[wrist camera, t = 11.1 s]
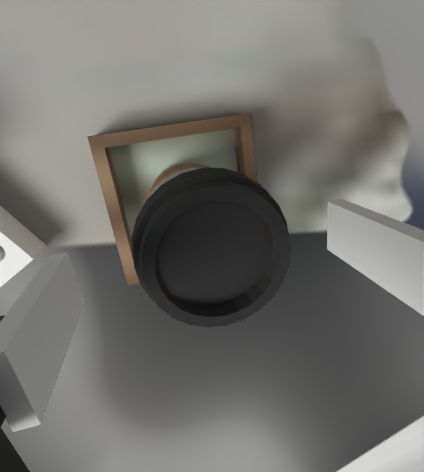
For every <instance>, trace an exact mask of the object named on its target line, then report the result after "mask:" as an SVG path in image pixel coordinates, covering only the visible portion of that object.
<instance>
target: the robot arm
mask: <svg viewBox="0 0 424 472" xmlns="http://www.w3.org/2000/svg"><path fill="white" fill-rule="evenodd" d="M327 234H328V235H327V249H328V250H329V251H331V252H332V253H334V254H335V255H337V256H338V257H339V258H341V259H342V260H344V261H345V262H347V263H348V264H349V265H351V266H352V267H354V268H355V269H357V270H358V271H360V272H361V273H362V274H364V275H365V276H367V277H368V278H370V279H371V280H373V281H374V282H376V283H377V284H378V285H380V286H381V287H383V288H384V289H386V290H387V291H388V292H390V293H392V294H393V295H394V296H396V297H397V298H399V299H400V300H401V301H403V302H404V303H406V304H407V305H409V306H410V307H412V308H413V309H415V310H416V311H418V312H419V313H421V314H422V315H423V316H424V230H421V229H419V228H416V227H413V226H411V225H408V224H406V223H403V222H400V221H398V220H395V219H392V218H390V217H387V216H385V215H382V214H379V213H377V212H374V211H372V210H369V209H366V208H364V207H361V206H358V205H356V204H353V203H351V202H348V201H345V200H343V199H338V200H333V201H328V225H327ZM83 305H84V299H83V296H82V294H81V291H80V288H79V285H78V282H77V279H76V276H75V273H74V270H73V268H72V265H71V262H70V259H69V256H68V253H67V252H66V253H61V254H55V255H50V256H49V258H48V259H47V260H46V262H45V263H44V264H43V266H42V267H41V268H40V270H39V271H38V272H37V274H36V275H35V276H34V278H33V279H32V280H31V282H30V283H29V284H28V286H27V287H26V288H25V290H24V291H23V292H22V294H21V295H20V296H19V298H18V299H17V300H16V302H15V303H14V304H13V306H12V307H11V309H10V310H9V311H8V312H7V314H6V315H4V316H0V472H30V471H29V470H28V468H27V467H26V465H25V464H24V462H23V461H22V459H21V458H20V456H19V455H18V453H17V452H16V450H15V449H14V447H13V445H12V444H11V442H10V441H9V439H8V438H7V436H6V435H5V433H4V432H3V430H2V429H1V425H2V423H3V421H4V419H5V418H6V420H7V422H8V424H9V425H10V427H11V429H12V431H13V432H14V431H18V430H22V429H26V428H30V427H33V426H37V425H40V424H41V422H42V420H43V417H44V414H45V411H46V408H47V405H48V402H49V400H50V397H51V394H52V391H53V388H54V386H55V383H56V380H57V378H58V375H59V372H60V369H61V366H62V364H63V361H64V358H65V355H66V352H67V350H68V347H69V344H70V341H71V338H72V335H73V333H74V330H75V327H76V324H77V322H78V319H79V316H80V313H81V310H82V307H83Z"/></svg>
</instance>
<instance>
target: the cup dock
mask: <svg viewBox="0 0 424 472" xmlns="http://www.w3.org/2000/svg"><path fill="white" fill-rule="evenodd" d="M88 140H89V144H90V147H91V151H92V155H93V159H94V162H95V166H96V170H97V173H98V177H99V181H100V184H101V188H102V192H103V196H104V199H105V203H106V207H107V210H108V214H109V218H110V221H111V225H112V229H113V232H114V236H115V240H116V244H117V247H118V251H119V255H120V258H121V262H122V266H123V269H124V273H125V277H126V280H127V284H128V285H132V284H137V283H140V281H139V279H138V276H137V273H136V271H135V268H134V260H133V255H132V239H131V238H132V234H133V230H134V225H135V221H136V218H137V216H138V214H139V212H140V211H141V209H142V207H143V205H144V203H145V201H146V198H147V196H148V193H149V191H150V189H151V187H152V185H153V183H154V182H155V180H156V178H157V177H158V176H159V175H160V174H161V173H162V172H163V171H164V170H165V169H167V168H169V167H170V166H172V165H176V164H180V163H191V164H200V165H204V166H208V167H211V168H225V169H229V170H232V171H235V172H239V173H242V174H244V175H246V176H247V177H249V178H251V179H252V180H254V181H255V182H257V175H256V163H255V151H254V140H253V128H252V116H251V113H246V114H239V115H233V116H226V117H219V118H212V119H205V120H198V121H191V122H185V123H178V124H171V125H164V126H157V127H150V128H143V129H136V130H130V131H123V132H116V133H109V134H102V135H95V136H88Z"/></svg>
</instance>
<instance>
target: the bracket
mask: <svg viewBox="0 0 424 472" xmlns="http://www.w3.org/2000/svg"><path fill="white" fill-rule="evenodd" d="M45 246H46V245H45V244H44V243H43V242H42V241H41V240H40V239H38V238H37V237H36V236H35V235H34V234H33V233H31V232H30V231H29V230H28V229H27V228H26V227H24V226H23V225H22V224H21V223H20V222H19V221H18V220H16V219H15V218H14V217H13V216H12V215H11V214H9V213H8V212H7V211H6V210H5V209H4V208H3V207H1V206H0V287H1V286H2V285H3V284H5V283H6V282H7V281H8V280H9V279H11V278H12V277H13V276H14V275H15V274H17V273H18V272H19V271H20V270H21V269H23V268H24V267H25V266H26V265H27V264H29V263H30V262H31V261H32V260H33V259H34V258H35V257H36V256H37V255H38V254H39V253H40V252H41V250H42V249H43V248H44V247H45Z"/></svg>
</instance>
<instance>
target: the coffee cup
mask: <svg viewBox="0 0 424 472" xmlns="http://www.w3.org/2000/svg"><path fill="white" fill-rule="evenodd" d="M131 239H132V255H133V260H134V268H135V271H136V273H137V276H138V279H139V281H140V284H141V286H142V287H143V289H144V290H145V291H146V293H147V294H148V295H149V297H150V298H151V299H152V300H153V301H154V302H155V303H156V304H157V305H158V306H159V308H161V309H162V310H164V311H165V312H166V313H167V314H169V315H170V316H171V317H173V318H175V319H177V320H180V321H182V322H185V323H187V324H189V325H197V326H204V327H213V326H224V325H228V324H231V323H234V322H237V321H241V320H243V319H245V318H247V317H248V316H250V315H252V314H254V313H255V312H257V311H259V309H261V308H262V307H263V306H264V305H265V304H266V303H267V302H268V301H270V300H271V299H272V297H273V296H274V295H275V293H276V292H277V290H278V289H279V288H280V286H281V285H282V283H283V280H284V278H285V275H286V273H287V270H288V268H289V261H290V252H291V247H290V241H289V233H288V229H287V223H286V220H285V218H284V216H283V214H282V211H281V209H280V207H279V205H278V204H277V203H276V201H275V200H274V199H273V198H272V197H271V196H270V195H269V193H268V192H267V191H266V190H265V189H263V188H262V186H261V185H260V184H258V183H257V182H255V181H254V180H252V179H251V178H249V177H247V176H246V175H244V174H242V173H239V172H235V171H232V170H229V169H225V168H211V167H208V166H204V165H200V164H191V163H180V164H176V165H172V166H170V167H169V168H167V169H165V170H164V171H163V172H162V173H161V174H160V175H159V176H158V177H157V178H156V180H155V182H154V183H153V185H152V187H151V189H150V191H149V193H148V196H147V198H146V201H145V203H144V205H143V207H142V209H141V211H140V212H139V214H138V216H137V218H136V221H135V225H134V230H133V234H132V238H131Z"/></svg>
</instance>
